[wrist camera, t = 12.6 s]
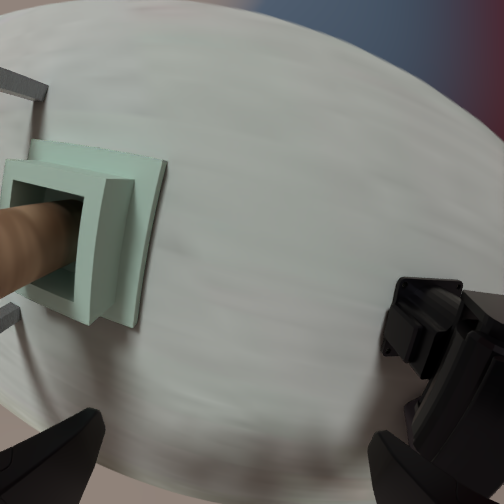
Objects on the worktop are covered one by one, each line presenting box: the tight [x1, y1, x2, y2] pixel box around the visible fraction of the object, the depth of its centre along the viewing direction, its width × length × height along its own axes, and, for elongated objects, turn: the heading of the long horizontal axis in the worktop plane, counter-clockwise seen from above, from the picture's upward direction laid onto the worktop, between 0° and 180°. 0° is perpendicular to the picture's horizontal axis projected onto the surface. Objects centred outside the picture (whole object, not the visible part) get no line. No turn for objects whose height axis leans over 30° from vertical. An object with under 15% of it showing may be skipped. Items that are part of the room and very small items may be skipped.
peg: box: [0, 199, 83, 299], centre depth 13 cm, size 4×4×12 cm
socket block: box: [0, 139, 167, 328], centre depth 17 cm, size 12×12×5 cm
